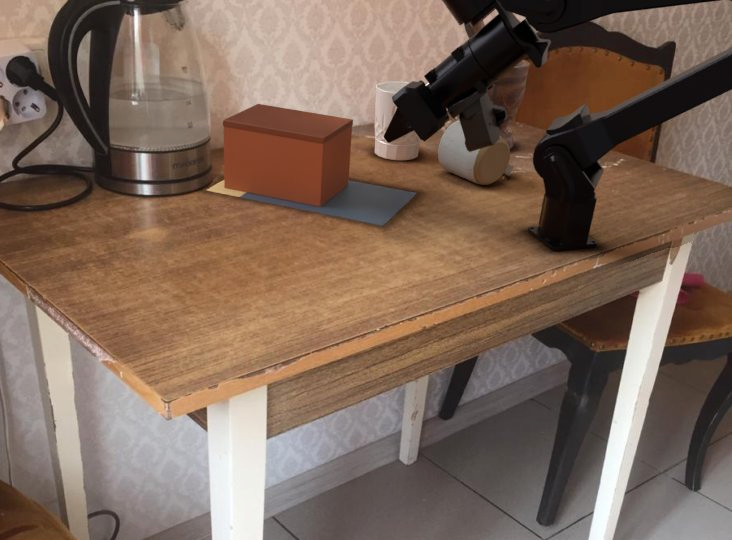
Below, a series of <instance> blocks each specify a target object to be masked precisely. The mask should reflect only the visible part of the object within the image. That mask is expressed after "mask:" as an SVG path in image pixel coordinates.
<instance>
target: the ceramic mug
mask: <svg viewBox="0 0 732 540" xmlns="http://www.w3.org/2000/svg"><path fill="white" fill-rule="evenodd" d="M437 158H438V162H439V165H440V166H441V168H442V169H443V170H445V171H446V172H448V173H451V174H454V175H455V176H458V177H460V178H462V179H466V180H467V181H469V182H471V183H475V184H477V185H480V186H481V185H482V186H487V185H491V184H494V183H495V182H496V181H498V180H500V178H501V177H502V176H503V175H505V176H508V177H510V175H511V174H512V172H513V169H514V165H512V164H510V159H511V149H510V148H509V145H508V143H507V142H506V140H505V139H503V138H502V137H501V136H500V139H499V140H498V141H497V142H496V143H495V144H494V145H492V146H488V147H485V148H482V149H478V150H475V151H471V152H469V151H468V150H467V148H466V146H465V137H464V133H463V130H462V127H461V123H460V119H457V120H456V121H454V122H452V123H451V124H450V125H449V126H448V127H447V128H446V129H445V131H444V132H443V134H442V135H441V138H440V141H439V144H438V148H437Z"/></svg>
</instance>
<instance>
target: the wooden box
mask: <svg viewBox="0 0 732 540" xmlns="http://www.w3.org/2000/svg"><path fill="white" fill-rule="evenodd" d="M222 126H223V177H224V179H223V180H224V188H228V189H233V190H238V191H243V192H248V193H253V194H258V195H263V196H268V197H273V198H278V199H283V200H288V201H293V202H298V203H303V204H308V205H313V206H318V207H321V206H322V205H323V204H325V203H326V202H327V201H328V200H330V199H331V198H332V197H334V196H335V195H336V194H337V193H339V192H340V191H341V190H343V189H344V188H345V187H346V186H348V182H349V180H350V166H351V165H350V164H351V150H352V149H351V147H352V135H353V126H354V119H352V118H347V117H341V116H334V115H330V114H329V115H328V114H323V113H317V112H316V113H315V112H311V111H304V110H298V109H292V108H287V107H286V108H285V107H280V106H274V105H268V104H262V103H257V104H254V105H253V106H249V107H248V108H246V109H244V110H242V111H240V112H238V113H234V114H233V115H230V116H228V117H227V118H225V119H222Z"/></svg>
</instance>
